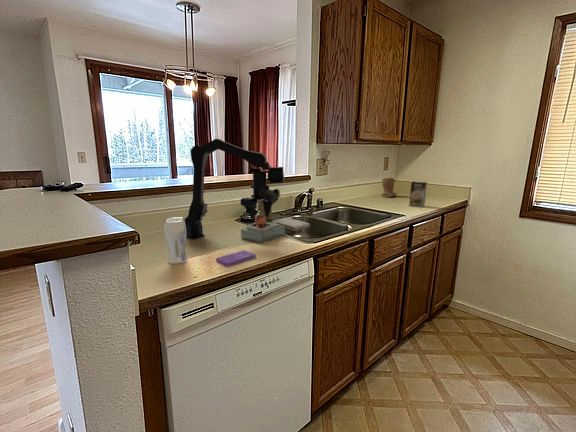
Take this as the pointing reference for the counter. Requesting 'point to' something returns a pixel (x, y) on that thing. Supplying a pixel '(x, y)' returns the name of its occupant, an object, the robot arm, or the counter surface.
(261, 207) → the squeeze bottle
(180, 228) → the beer glass
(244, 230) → the grey piece
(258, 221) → the spout can
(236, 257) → the sponges
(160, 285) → the counter surface
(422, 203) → the coffee box
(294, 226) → the washcloth
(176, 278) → the counter surface
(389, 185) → the brown boot
